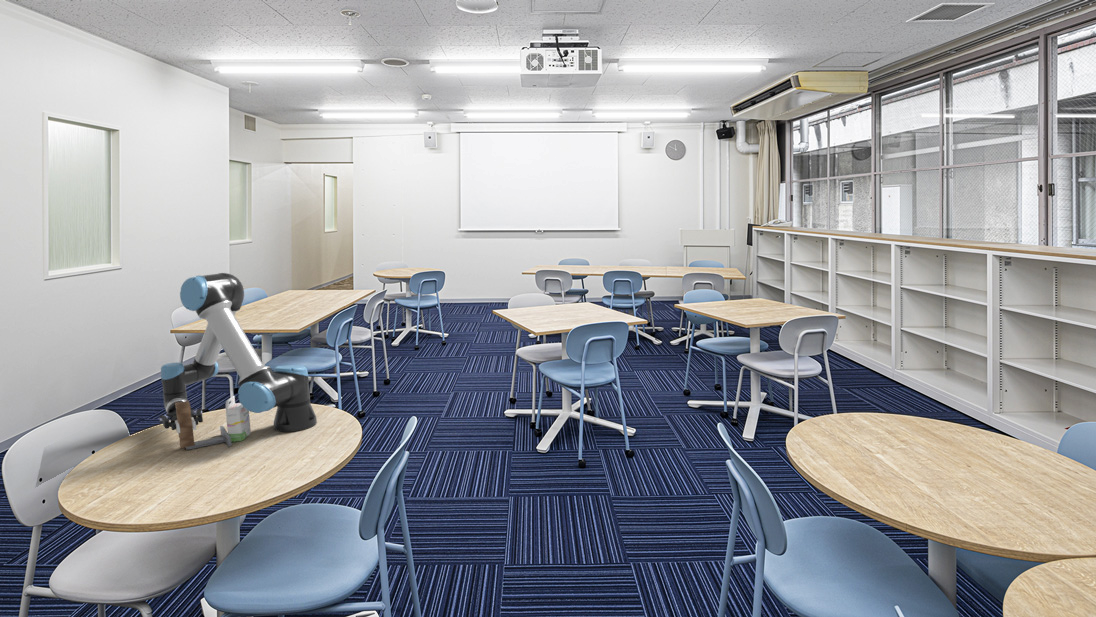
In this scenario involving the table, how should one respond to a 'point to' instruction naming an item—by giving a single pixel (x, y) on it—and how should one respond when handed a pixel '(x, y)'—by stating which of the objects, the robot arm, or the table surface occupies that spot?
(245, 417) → the ink box
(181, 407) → the wooden post on rail
